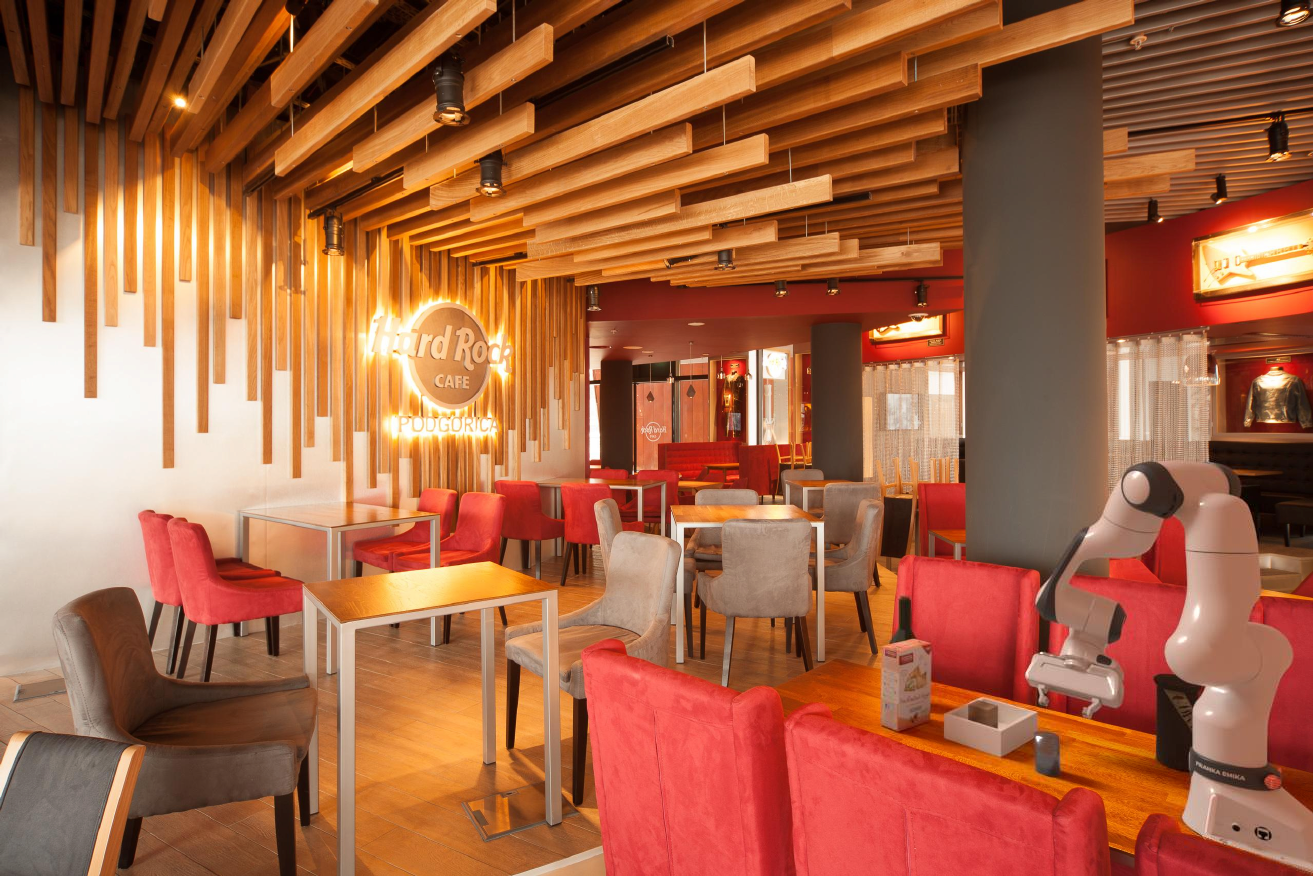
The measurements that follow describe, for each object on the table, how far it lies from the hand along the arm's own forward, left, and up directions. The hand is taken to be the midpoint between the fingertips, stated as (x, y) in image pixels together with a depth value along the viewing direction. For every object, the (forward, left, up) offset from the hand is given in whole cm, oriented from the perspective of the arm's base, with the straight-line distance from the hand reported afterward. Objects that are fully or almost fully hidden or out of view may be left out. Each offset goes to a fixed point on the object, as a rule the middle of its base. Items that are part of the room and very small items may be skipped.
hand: (1063, 710), depth 164 cm
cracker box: (+35, +9, -12) cm, 38 cm away
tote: (+17, 0, -12) cm, 21 cm away
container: (-17, -19, -12) cm, 28 cm away
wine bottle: (+44, -5, -12) cm, 46 cm away
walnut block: (+17, +4, -11) cm, 20 cm away
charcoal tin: (0, +9, -12) cm, 15 cm away
